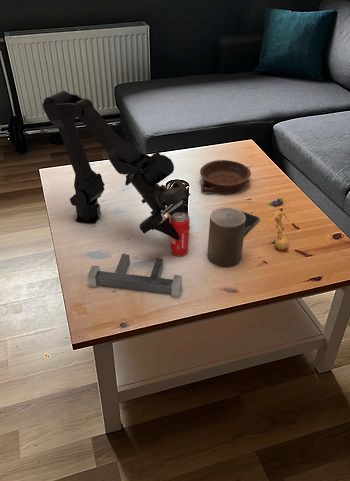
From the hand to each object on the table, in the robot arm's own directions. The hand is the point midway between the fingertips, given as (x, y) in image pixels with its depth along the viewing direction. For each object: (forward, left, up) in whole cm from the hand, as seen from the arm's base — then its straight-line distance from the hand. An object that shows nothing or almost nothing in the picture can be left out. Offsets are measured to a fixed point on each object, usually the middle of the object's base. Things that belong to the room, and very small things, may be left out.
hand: (183, 234), depth 134 cm
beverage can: (-1, +1, -7) cm, 7 cm away
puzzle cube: (+27, +31, -7) cm, 41 cm away
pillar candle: (+12, +1, -7) cm, 14 cm away
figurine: (+27, +8, -7) cm, 29 cm away
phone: (+15, +16, -7) cm, 23 cm away
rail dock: (-10, -13, -7) cm, 18 cm away
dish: (+8, +41, -7) cm, 43 cm away
